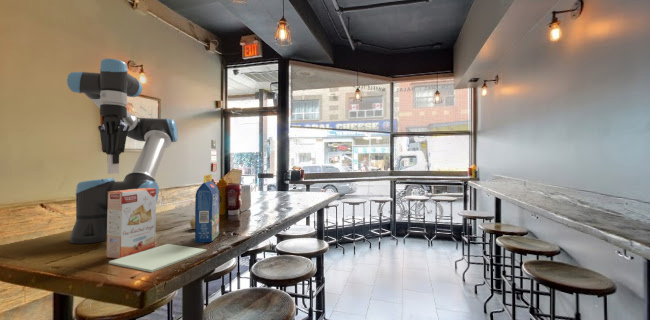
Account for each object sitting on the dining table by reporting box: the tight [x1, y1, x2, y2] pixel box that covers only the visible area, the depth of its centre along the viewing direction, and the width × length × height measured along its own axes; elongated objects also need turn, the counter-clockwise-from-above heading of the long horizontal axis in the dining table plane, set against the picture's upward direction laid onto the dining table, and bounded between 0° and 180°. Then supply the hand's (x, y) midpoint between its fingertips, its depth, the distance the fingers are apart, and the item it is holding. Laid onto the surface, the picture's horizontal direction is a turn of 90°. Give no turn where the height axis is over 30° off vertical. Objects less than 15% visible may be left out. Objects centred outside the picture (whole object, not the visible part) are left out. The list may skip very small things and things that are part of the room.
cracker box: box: [106, 188, 157, 259], centre depth 97 cm, size 14×6×21 cm, turn 168°
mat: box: [108, 243, 208, 273], centre depth 92 cm, size 18×20×1 cm
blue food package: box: [194, 174, 220, 243], centre depth 115 cm, size 6×12×25 cm, turn 8°
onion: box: [189, 216, 195, 231], centre depth 130 cm, size 8×8×7 cm
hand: (113, 173), depth 101 cm, fingers closed
